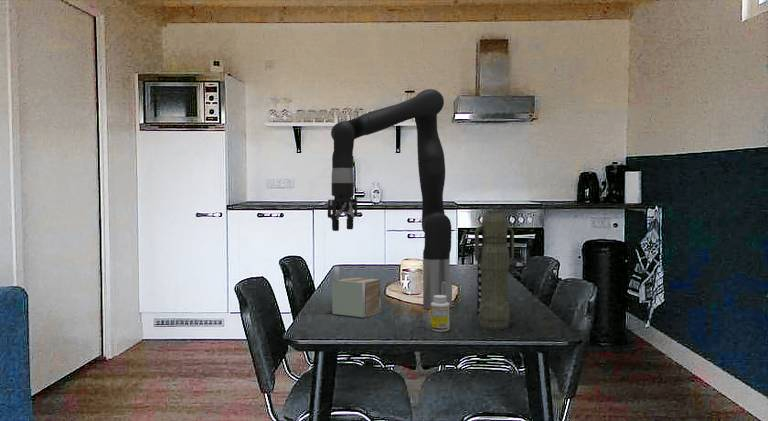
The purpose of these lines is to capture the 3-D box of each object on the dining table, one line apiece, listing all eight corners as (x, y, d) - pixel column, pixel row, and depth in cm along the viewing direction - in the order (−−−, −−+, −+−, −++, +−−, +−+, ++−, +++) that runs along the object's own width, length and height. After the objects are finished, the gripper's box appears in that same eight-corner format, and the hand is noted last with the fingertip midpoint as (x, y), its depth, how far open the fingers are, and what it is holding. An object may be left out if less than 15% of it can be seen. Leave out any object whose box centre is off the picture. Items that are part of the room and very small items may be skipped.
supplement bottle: (438, 327, 200) (437, 293, 199) (453, 329, 196) (453, 295, 196) (427, 330, 196) (426, 296, 195) (442, 333, 192) (442, 298, 192)
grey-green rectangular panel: (366, 316, 214) (366, 268, 213) (363, 317, 213) (363, 269, 212) (334, 312, 220) (334, 266, 220) (331, 313, 219) (331, 266, 218)
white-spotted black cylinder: (487, 319, 211) (487, 256, 210) (472, 314, 218) (472, 254, 217) (508, 316, 215) (508, 255, 214) (492, 311, 222) (492, 252, 221)
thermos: (518, 328, 198) (519, 211, 196) (481, 330, 195) (481, 212, 194) (506, 322, 207) (507, 210, 205) (471, 323, 204) (471, 210, 202)
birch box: (380, 312, 223) (380, 279, 222) (364, 317, 214) (364, 283, 214) (351, 308, 229) (350, 277, 228) (334, 313, 220) (334, 281, 220)
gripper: (339, 181, 213) (340, 232, 214) (363, 181, 226) (363, 229, 226) (321, 181, 217) (321, 231, 218) (345, 181, 229) (345, 228, 230)
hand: (342, 230), depth 222 cm, fingers open, 8 cm apart
